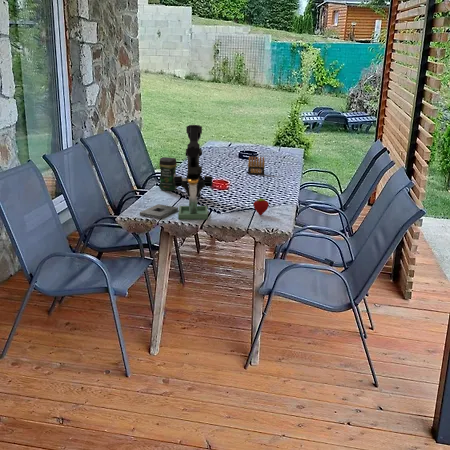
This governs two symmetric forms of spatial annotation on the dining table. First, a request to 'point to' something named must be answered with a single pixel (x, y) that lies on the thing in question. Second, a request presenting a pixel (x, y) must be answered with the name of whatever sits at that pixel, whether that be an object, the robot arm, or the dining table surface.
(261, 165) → the ammunition clip
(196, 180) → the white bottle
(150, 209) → the plate
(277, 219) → the dining table surface
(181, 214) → the parts tray
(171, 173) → the coffee jar
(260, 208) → the strawberry
